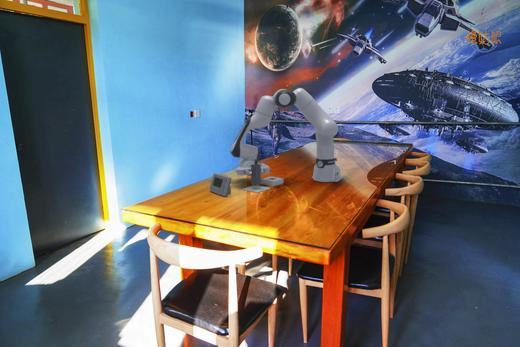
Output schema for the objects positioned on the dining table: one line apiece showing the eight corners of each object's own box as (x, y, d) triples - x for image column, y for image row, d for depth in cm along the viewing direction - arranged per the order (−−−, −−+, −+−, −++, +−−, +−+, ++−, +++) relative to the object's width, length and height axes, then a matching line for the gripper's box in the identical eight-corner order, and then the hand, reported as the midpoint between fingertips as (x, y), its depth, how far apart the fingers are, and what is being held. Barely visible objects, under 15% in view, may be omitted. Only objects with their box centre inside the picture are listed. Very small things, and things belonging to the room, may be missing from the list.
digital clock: (208, 191, 204) (207, 173, 202) (223, 189, 209) (222, 171, 206) (219, 198, 190) (218, 178, 188) (234, 195, 195) (233, 176, 192)
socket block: (271, 180, 227) (271, 176, 226) (283, 183, 220) (283, 178, 220) (260, 183, 219) (260, 179, 219) (273, 186, 213) (273, 181, 212)
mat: (255, 185, 216) (255, 184, 216) (270, 188, 208) (270, 187, 208) (241, 189, 207) (241, 188, 207) (257, 192, 199) (257, 192, 199)
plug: (255, 183, 210) (255, 158, 206) (260, 184, 207) (260, 159, 204) (251, 184, 207) (251, 159, 203) (256, 185, 204) (256, 160, 201)
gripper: (233, 164, 214) (238, 168, 201) (265, 162, 220) (272, 166, 207) (233, 174, 215) (239, 179, 202) (265, 172, 221) (272, 177, 208)
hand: (256, 173), depth 204 cm, fingers closed on plug, 5 cm apart
